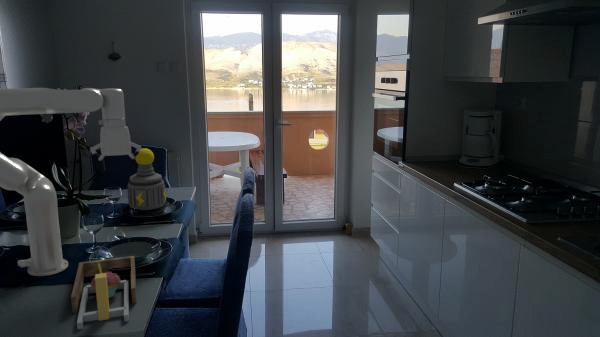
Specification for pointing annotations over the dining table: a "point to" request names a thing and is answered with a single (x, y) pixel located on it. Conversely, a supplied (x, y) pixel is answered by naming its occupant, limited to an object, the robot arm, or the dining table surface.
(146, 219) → the dining table surface
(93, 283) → the cupcake
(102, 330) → the dining table surface
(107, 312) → the frame
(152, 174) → the decorative lamp
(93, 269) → the bay
